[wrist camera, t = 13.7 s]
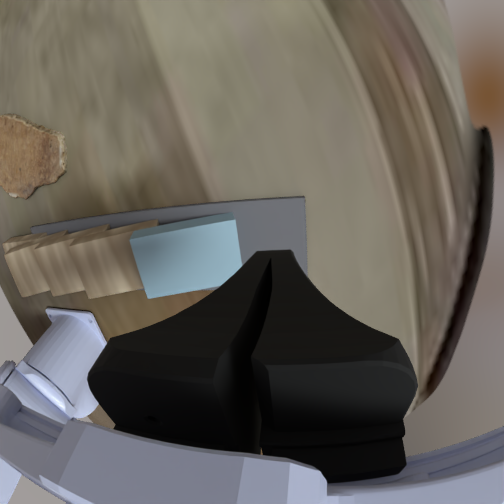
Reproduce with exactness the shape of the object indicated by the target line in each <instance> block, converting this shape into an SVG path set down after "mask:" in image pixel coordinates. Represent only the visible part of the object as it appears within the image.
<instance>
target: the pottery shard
mask: <svg viewBox="0 0 504 504" xmlns="http://www.w3.org/2000/svg"><path fill="white" fill-rule="evenodd" d="M66 167H67V147H66V145H65V136H64V135H63V134H62V133H61V132H59V131H54V130H51V129H47V128H45V127H44V126H42V125H37V124H35V123H33V122H31V121H30V120H28V119H26V118H23V117H21V116H19V115H16V114H10V113H9V114H4V115H1V116H0V186H2V187H3V189H4V190H5V191H6V193H8V194H9V195H10V196H11V197H14V198H17V197H21V198H24V199H27V198H28V197H29V196H30V195H32V194H33V192H34V191H35V190H36V189H37V188H38V187H40V186H43V185H44V184H45V185H49V184H52V183H56V181H57V180H58V179H59V178H60V176H62V175H63V174H64V173H66Z"/></svg>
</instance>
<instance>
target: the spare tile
mask: <svg viewBox="0 0 504 504" xmlns="http://www.w3.org/2000/svg"><path fill="white" fill-rule="evenodd" d="M129 241H130V244H131V247H132V251H133V254H134V257H135V261H136V264H137V267H138V270H139V273H140V276H141V280H142V283H143V286H144V288H145V291H146V294H147V297H148V299H149V298H155V297H161V296H167V295H173V294H178V293H184V292H189V291H195V290H201V289H206V288H211V287H217V286H221V285H222V284H223V283H224V282H226V281H227V280H228V279H229V278H230V277H231V276H232V275H234V274H235V273H236V272H237V271H238V270H239V269H240V268H241V267H242V262H241V255H240V248H239V241H238V234H237V227H236V220H235V217H234V215H233V212H230V213H224V214H218V215H213V216H207V217H202V218H196V219H191V220H186V221H181V222H175V223H170V224H165V225H160V226H155V227H150V228H146V229H141V230H136V231H133V233H132V235H131V237H130V239H129Z"/></svg>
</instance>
